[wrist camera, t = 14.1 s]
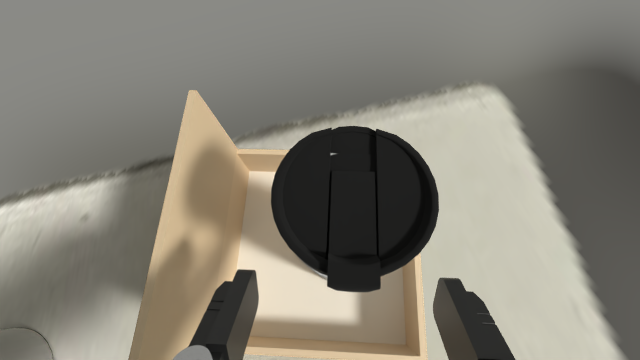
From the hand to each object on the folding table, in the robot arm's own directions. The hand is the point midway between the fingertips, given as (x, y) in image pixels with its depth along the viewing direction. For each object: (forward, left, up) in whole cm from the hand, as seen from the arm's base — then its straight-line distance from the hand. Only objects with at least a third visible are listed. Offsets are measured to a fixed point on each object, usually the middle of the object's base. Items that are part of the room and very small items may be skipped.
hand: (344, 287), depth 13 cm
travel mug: (0, +3, -16) cm, 16 cm away
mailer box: (-2, +3, -16) cm, 17 cm away
